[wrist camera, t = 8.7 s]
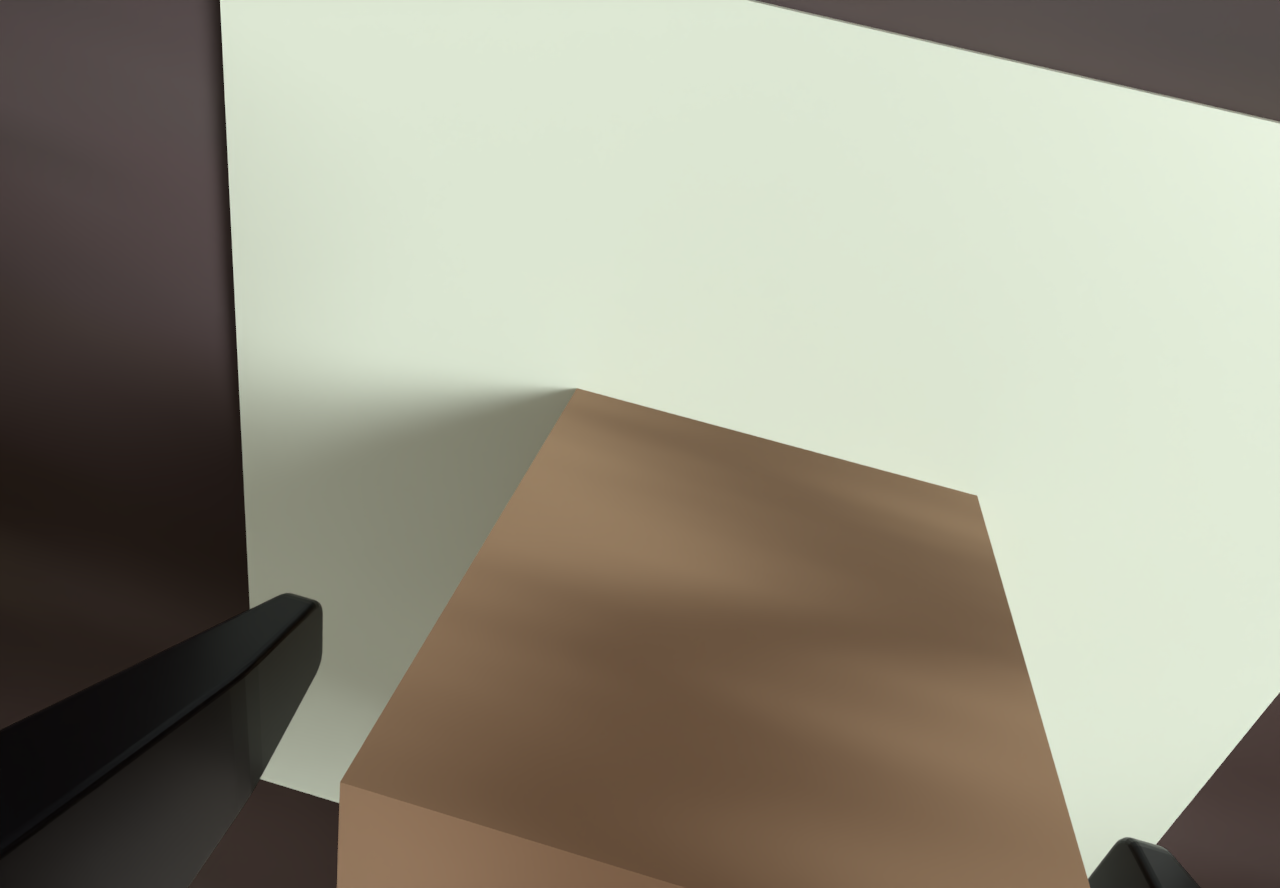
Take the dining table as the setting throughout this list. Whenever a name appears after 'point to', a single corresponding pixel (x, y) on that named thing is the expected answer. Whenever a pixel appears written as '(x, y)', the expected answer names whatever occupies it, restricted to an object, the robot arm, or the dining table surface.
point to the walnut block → (713, 685)
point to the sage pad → (763, 328)
